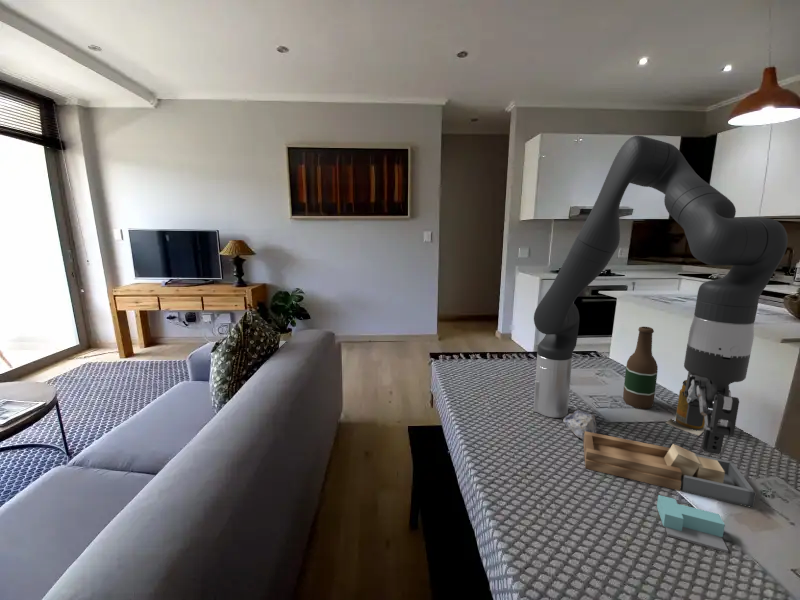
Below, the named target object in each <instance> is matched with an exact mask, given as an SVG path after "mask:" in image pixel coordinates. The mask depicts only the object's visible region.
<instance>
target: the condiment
mask: <svg viewBox="0 0 800 600" xmlns="http://www.w3.org/2000/svg"><path fill="white" fill-rule="evenodd" d="M686 382H687V379H685V380H683V381H682V385H681V388H680V389H679V394H678V399H677V400H678V402H677V407H676V413H675V414H676V415H675V416H674V417H676V422H673V421H674V420H672V418H670V419H669V420H668V421H666V422H665V424H667V425H669V426H671V427H675V428H676V429H678V430H681V431H684V432H687V433H689V434H692V435H695V436H698V437H699V436H700V435H702V433H704V429H705V419H704V418H703V424H702V426H700V427H698V426H693V425H688V424H687V422H686V415H687V409H688V404H690V403H687V397H688V396H685V393H684V391H685V387H686ZM692 429H693V430H692ZM696 430H697V431H696Z"/></svg>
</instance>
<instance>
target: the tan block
mask: <svg viewBox="0 0 800 600" xmlns="http://www.w3.org/2000/svg"><path fill="white" fill-rule="evenodd" d="M696 457H697V459H698V460H699V462H700V464H701V465H700V466H699V467H698V469H697V470H696V472H695V473H694V475H693V477H696V478H700V479H705V480H709V481H714V482H719V483H723V480H724V475H725V471H724V470H723V468H722V467H721V465H720V464H719V462H718V461H717V460H713V459H708V458H703V457H698V456H696Z"/></svg>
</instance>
